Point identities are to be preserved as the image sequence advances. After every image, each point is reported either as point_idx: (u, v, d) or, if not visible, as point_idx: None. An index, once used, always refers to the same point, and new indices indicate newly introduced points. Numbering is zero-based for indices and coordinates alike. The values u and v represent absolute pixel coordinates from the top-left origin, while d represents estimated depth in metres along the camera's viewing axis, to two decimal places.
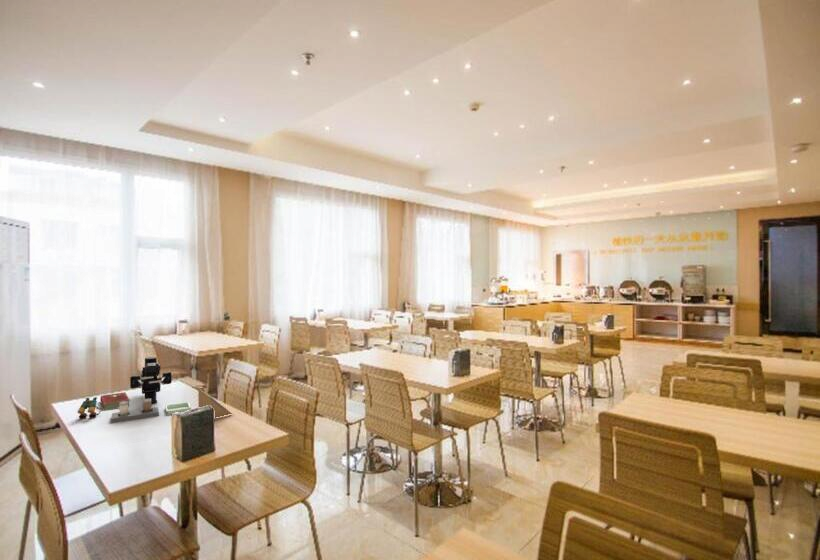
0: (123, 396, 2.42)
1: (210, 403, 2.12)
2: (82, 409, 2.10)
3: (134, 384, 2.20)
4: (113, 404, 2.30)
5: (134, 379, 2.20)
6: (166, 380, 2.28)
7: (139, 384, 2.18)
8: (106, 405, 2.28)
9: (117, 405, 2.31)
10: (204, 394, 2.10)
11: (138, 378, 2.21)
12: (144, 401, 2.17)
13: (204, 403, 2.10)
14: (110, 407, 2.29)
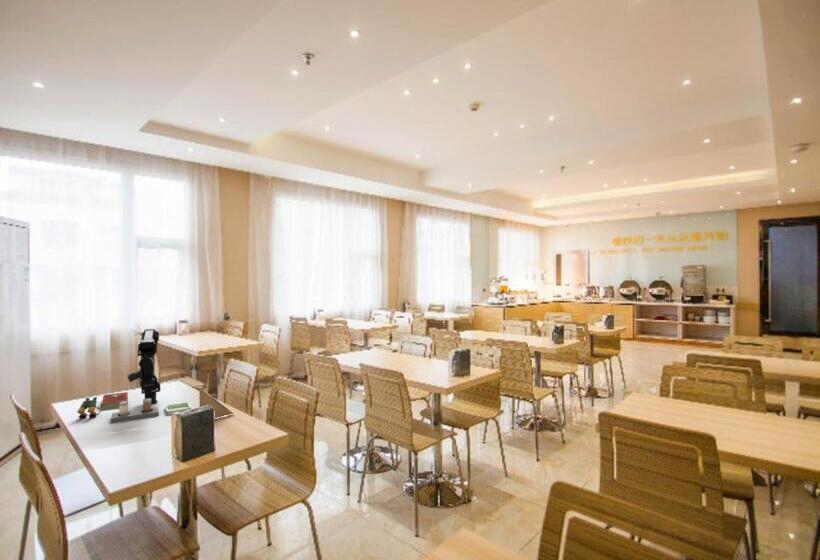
0: (123, 396, 2.41)
1: (212, 403, 2.12)
2: (82, 409, 2.10)
3: None
4: (111, 404, 2.30)
5: None
6: (149, 385, 2.13)
7: None
8: (104, 405, 2.28)
9: (115, 405, 2.31)
10: (206, 394, 2.10)
11: None
12: (144, 401, 2.17)
13: (206, 403, 2.10)
14: (108, 407, 2.29)
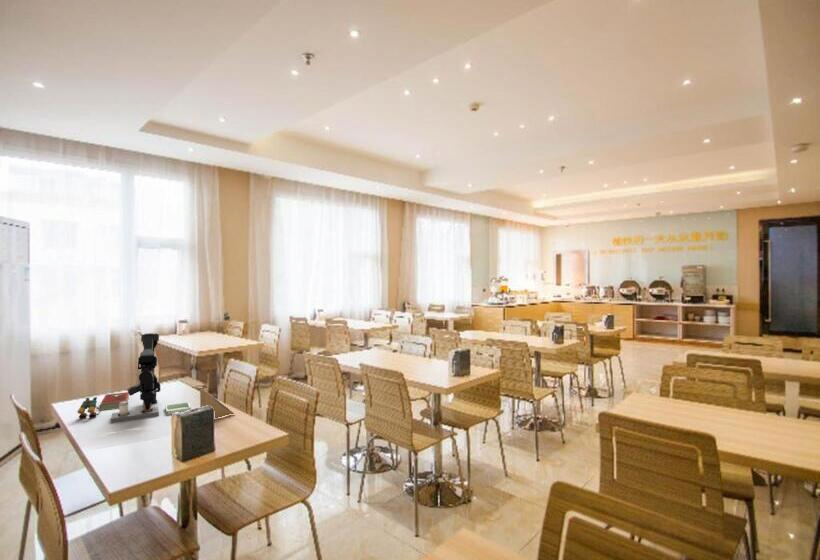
0: (124, 396, 2.41)
1: (213, 403, 2.12)
2: (82, 409, 2.10)
3: None
4: (110, 404, 2.29)
5: None
6: None
7: None
8: (102, 405, 2.28)
9: (114, 406, 2.30)
10: (207, 394, 2.10)
11: None
12: None
13: (207, 403, 2.10)
14: (106, 407, 2.29)
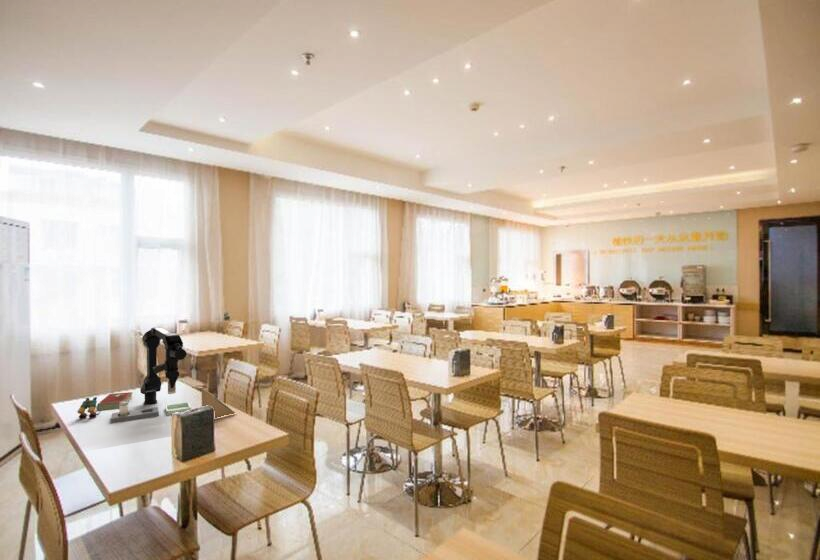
0: (124, 396, 2.41)
1: (214, 403, 2.13)
2: (82, 409, 2.10)
3: None
4: (107, 405, 2.29)
5: None
6: (174, 376, 2.21)
7: None
8: (100, 405, 2.28)
9: (111, 406, 2.30)
10: (208, 394, 2.11)
11: None
12: None
13: (208, 403, 2.11)
14: (104, 407, 2.29)
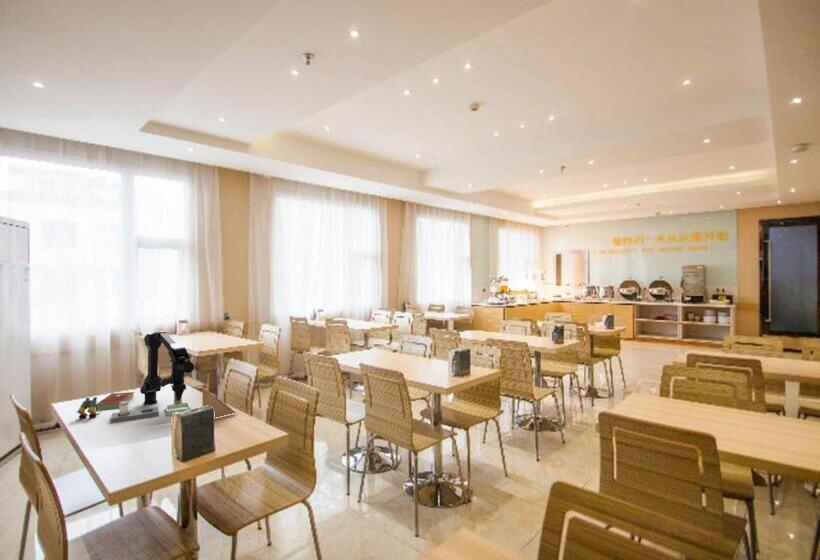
0: (124, 397, 2.40)
1: (215, 402, 2.13)
2: (82, 409, 2.10)
3: None
4: (105, 405, 2.29)
5: None
6: (180, 389, 2.23)
7: None
8: (99, 405, 2.28)
9: (109, 406, 2.30)
10: (209, 393, 2.11)
11: None
12: None
13: (209, 402, 2.11)
14: (103, 407, 2.29)
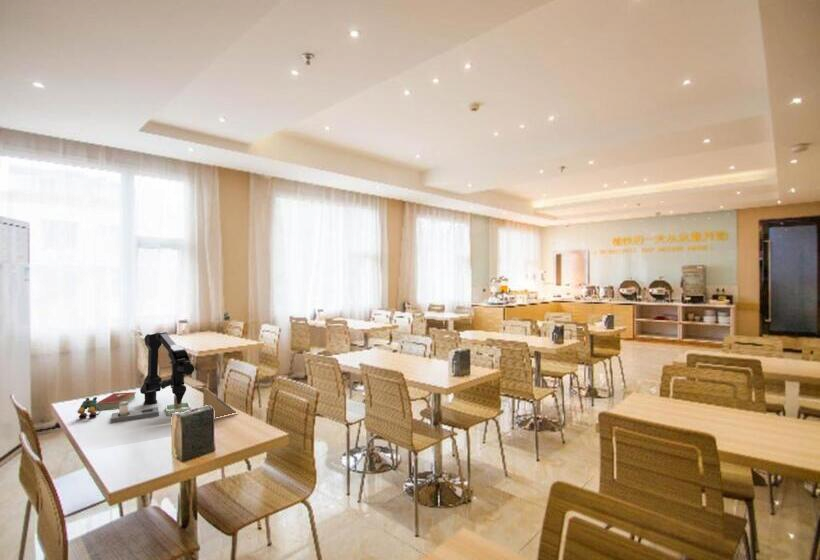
0: (124, 397, 2.40)
1: (215, 402, 2.14)
2: (82, 409, 2.10)
3: None
4: (104, 405, 2.29)
5: None
6: None
7: None
8: (97, 405, 2.28)
9: (108, 406, 2.29)
10: (210, 393, 2.12)
11: None
12: (175, 397, 2.24)
13: (210, 402, 2.12)
14: (101, 407, 2.29)
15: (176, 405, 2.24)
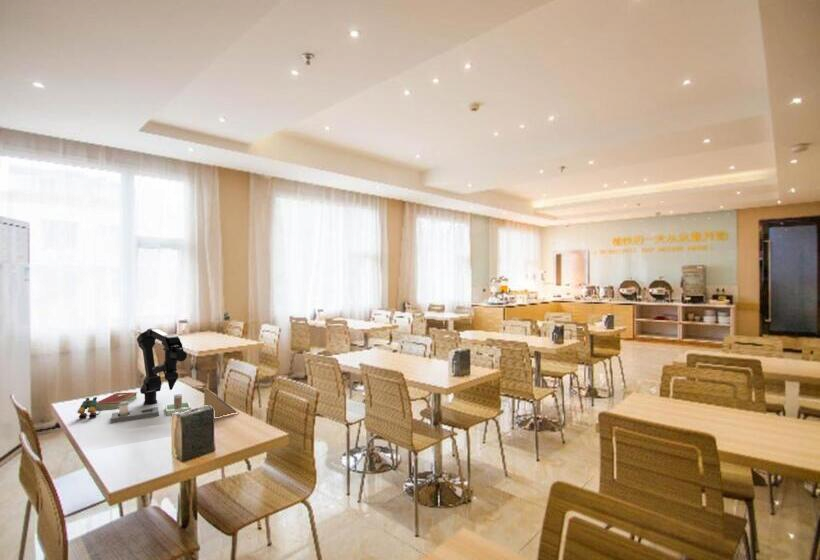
0: (124, 397, 2.40)
1: (216, 402, 2.14)
2: (82, 409, 2.10)
3: None
4: (103, 405, 2.29)
5: None
6: None
7: None
8: (96, 405, 2.29)
9: (106, 406, 2.29)
10: (210, 393, 2.12)
11: None
12: (175, 397, 2.24)
13: (210, 402, 2.12)
14: (100, 407, 2.29)
15: (176, 405, 2.24)
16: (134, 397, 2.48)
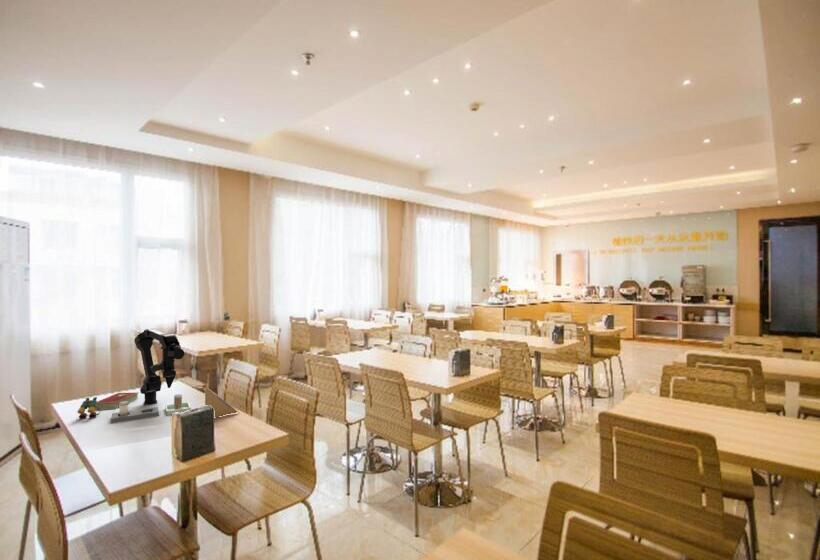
0: (124, 397, 2.40)
1: (217, 401, 2.15)
2: (82, 409, 2.10)
3: None
4: (101, 405, 2.29)
5: None
6: (171, 376, 2.26)
7: None
8: None
9: (105, 406, 2.29)
10: (211, 393, 2.13)
11: None
12: (175, 397, 2.24)
13: (211, 401, 2.13)
14: (99, 407, 2.29)
15: (176, 405, 2.24)
16: (135, 397, 2.47)
